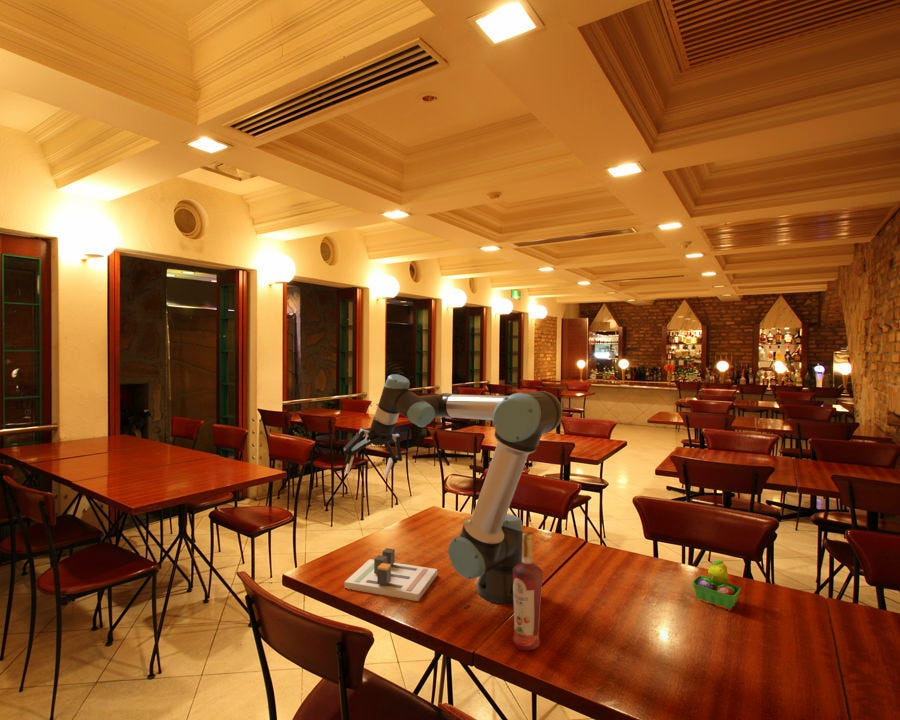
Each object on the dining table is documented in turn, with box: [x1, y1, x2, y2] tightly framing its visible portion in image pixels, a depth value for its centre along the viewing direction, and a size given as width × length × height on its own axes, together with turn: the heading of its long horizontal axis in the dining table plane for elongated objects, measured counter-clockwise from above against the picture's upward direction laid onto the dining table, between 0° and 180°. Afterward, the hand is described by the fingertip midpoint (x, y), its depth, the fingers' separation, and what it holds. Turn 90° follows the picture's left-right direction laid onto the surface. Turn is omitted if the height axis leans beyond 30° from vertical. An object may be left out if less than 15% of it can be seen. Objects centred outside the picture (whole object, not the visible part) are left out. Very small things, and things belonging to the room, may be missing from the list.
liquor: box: [511, 531, 543, 652], centre depth 121 cm, size 7×7×28 cm
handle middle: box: [373, 554, 387, 574], centre depth 155 cm, size 3×3×4 cm
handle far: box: [381, 547, 396, 566], centre depth 161 cm, size 3×3×4 cm
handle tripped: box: [377, 563, 391, 586], centre depth 148 cm, size 3×3×5 cm
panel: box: [344, 558, 438, 602], centre depth 154 cm, size 24×17×2 cm
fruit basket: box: [691, 559, 742, 610], centre depth 144 cm, size 11×9×11 cm
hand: (366, 473), depth 166 cm, fingers open, 13 cm apart
